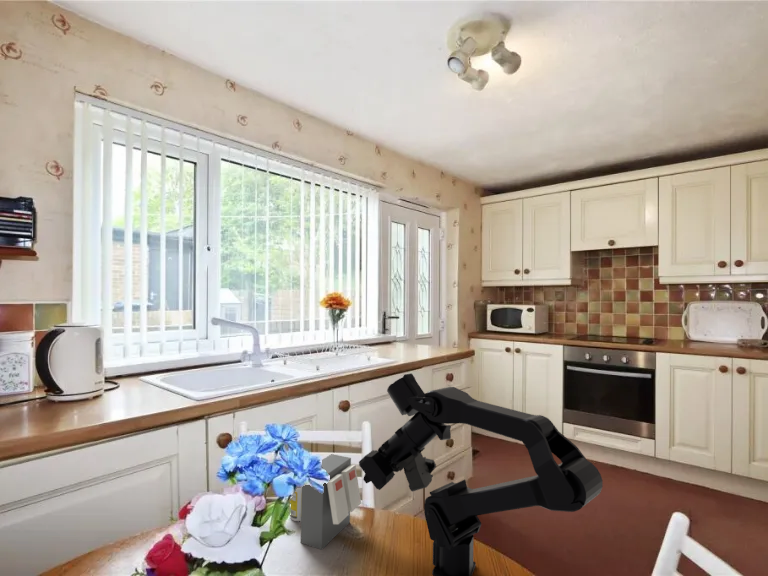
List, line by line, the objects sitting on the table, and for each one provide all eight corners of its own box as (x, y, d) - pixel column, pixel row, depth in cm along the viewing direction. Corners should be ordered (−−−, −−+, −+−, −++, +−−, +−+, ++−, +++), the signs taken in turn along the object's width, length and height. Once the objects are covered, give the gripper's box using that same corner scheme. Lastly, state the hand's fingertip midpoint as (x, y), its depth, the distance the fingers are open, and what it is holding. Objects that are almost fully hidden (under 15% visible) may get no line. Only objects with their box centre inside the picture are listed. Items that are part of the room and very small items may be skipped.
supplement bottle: (316, 510, 95) (317, 467, 96) (310, 523, 90) (311, 477, 90) (293, 509, 96) (294, 466, 96) (286, 521, 90) (287, 476, 91)
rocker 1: (349, 514, 83) (343, 474, 84) (339, 524, 80) (333, 481, 81) (343, 514, 84) (337, 474, 85) (333, 524, 80) (326, 481, 81)
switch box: (349, 522, 90) (350, 457, 91) (321, 549, 80) (323, 476, 81) (330, 517, 93) (331, 454, 93) (300, 542, 83) (302, 472, 83)
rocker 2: (362, 503, 88) (356, 464, 89) (353, 511, 85) (347, 471, 86) (356, 503, 89) (350, 465, 90) (347, 511, 85) (341, 471, 86)
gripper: (427, 488, 71) (369, 538, 75) (455, 452, 88) (407, 495, 92) (386, 435, 74) (333, 486, 78) (420, 411, 91) (375, 453, 95)
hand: (365, 480), depth 86 cm, fingers closed
